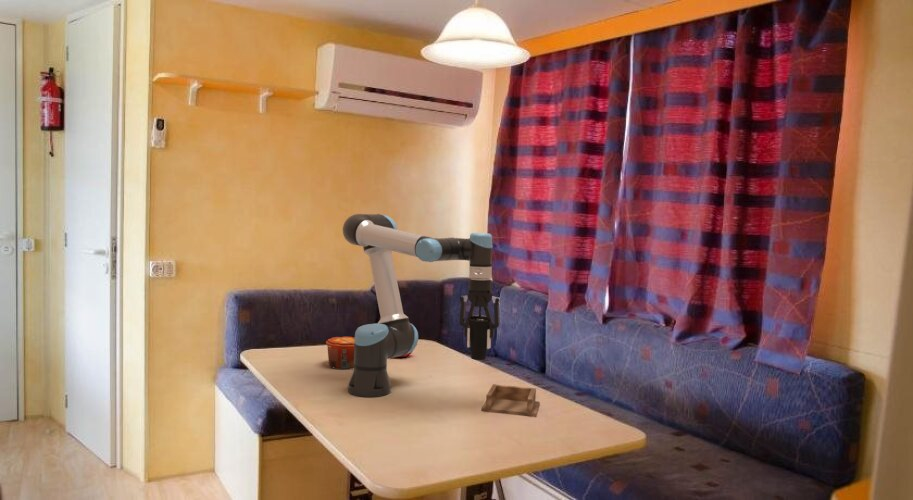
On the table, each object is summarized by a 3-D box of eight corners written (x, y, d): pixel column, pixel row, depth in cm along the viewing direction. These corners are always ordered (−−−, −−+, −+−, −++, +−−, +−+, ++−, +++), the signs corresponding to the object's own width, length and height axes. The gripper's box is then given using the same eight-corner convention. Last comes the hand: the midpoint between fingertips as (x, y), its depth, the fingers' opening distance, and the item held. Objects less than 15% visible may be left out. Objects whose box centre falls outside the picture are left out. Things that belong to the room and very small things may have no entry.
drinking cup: (487, 361, 215) (489, 301, 214) (465, 360, 216) (466, 300, 215) (491, 357, 222) (493, 299, 221) (469, 355, 224) (471, 297, 223)
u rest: (481, 410, 214) (481, 394, 214) (488, 399, 228) (488, 383, 227) (535, 416, 210) (536, 400, 210) (539, 404, 224) (540, 388, 224)
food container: (372, 365, 270) (373, 339, 269) (346, 372, 256) (347, 345, 256) (343, 359, 278) (344, 334, 278) (316, 366, 265) (317, 340, 264)
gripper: (450, 278, 217) (448, 347, 218) (506, 281, 212) (505, 351, 213) (455, 277, 224) (454, 343, 225) (510, 279, 220) (508, 347, 221)
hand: (478, 347), depth 219 cm, fingers closed on drinking cup, 6 cm apart
